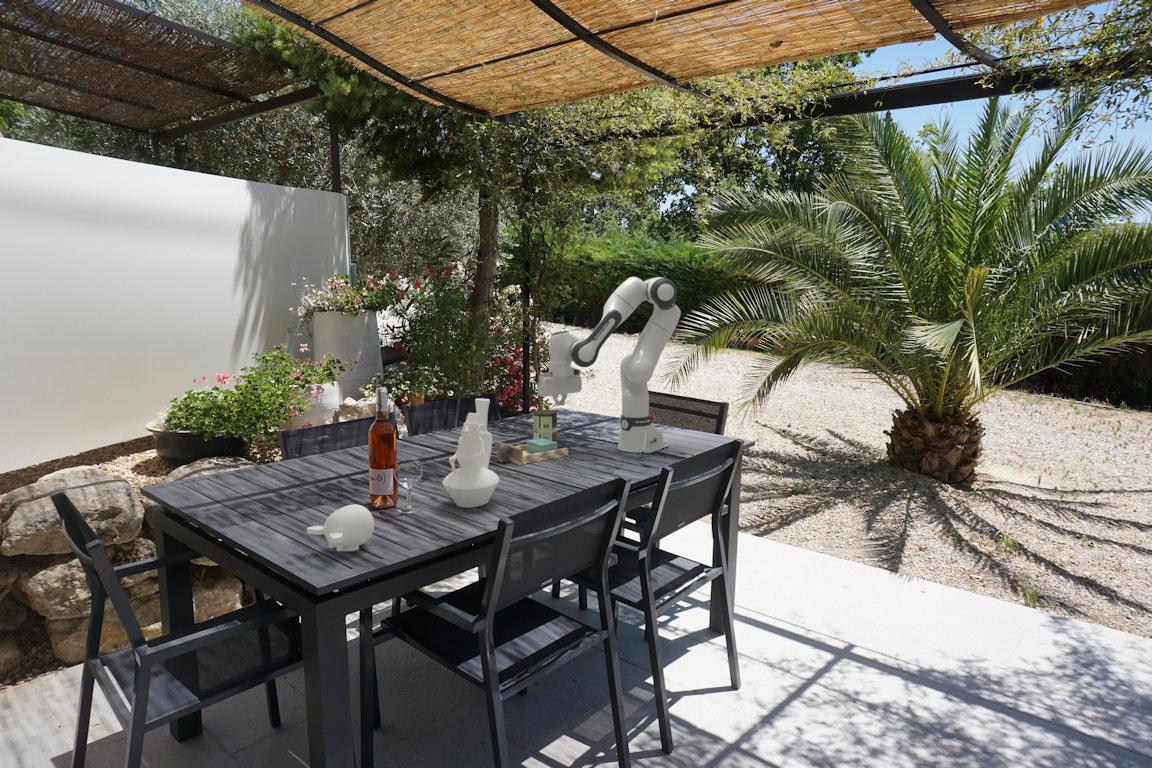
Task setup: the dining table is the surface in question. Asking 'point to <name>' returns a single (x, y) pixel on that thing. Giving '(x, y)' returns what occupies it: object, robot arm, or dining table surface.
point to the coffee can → (545, 424)
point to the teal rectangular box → (541, 445)
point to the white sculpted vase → (473, 461)
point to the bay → (525, 454)
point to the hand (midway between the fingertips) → (559, 405)
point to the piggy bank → (346, 527)
